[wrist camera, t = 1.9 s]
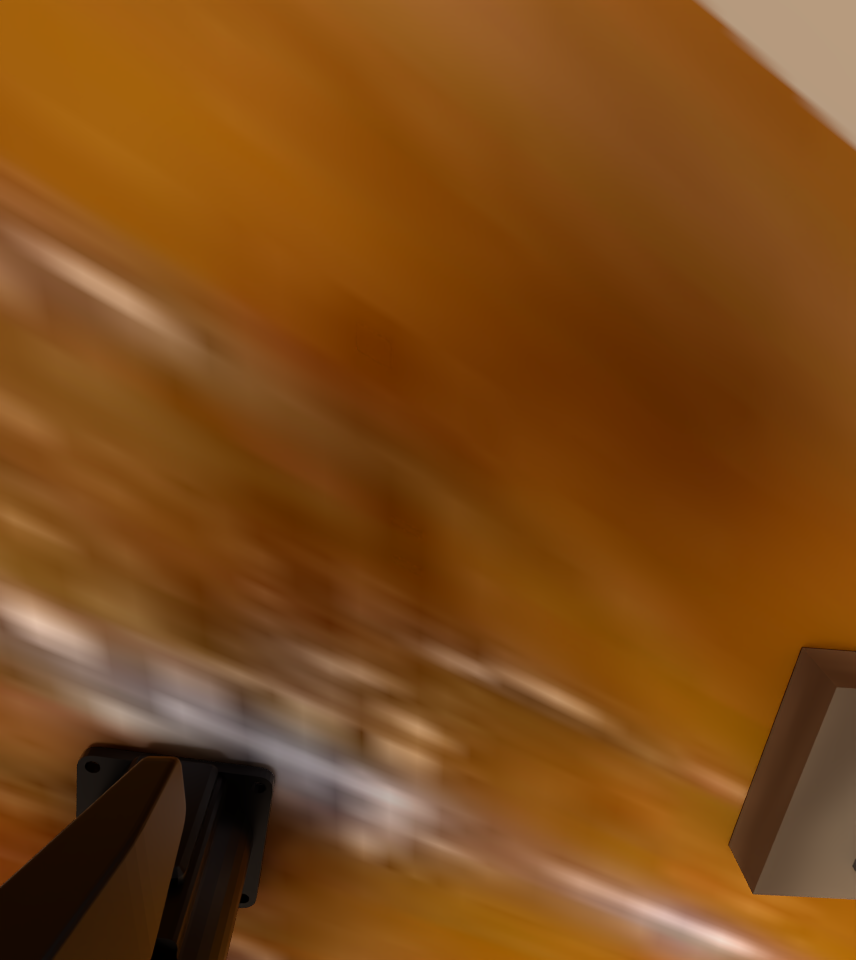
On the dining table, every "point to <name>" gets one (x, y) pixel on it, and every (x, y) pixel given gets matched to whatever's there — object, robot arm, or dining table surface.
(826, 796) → the grey base plate stand
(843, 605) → the dining table surface
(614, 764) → the dining table surface
